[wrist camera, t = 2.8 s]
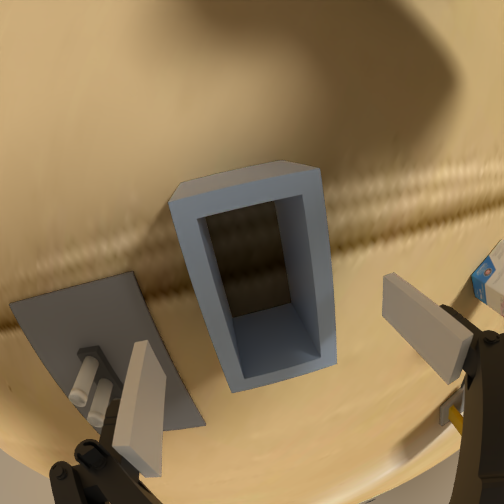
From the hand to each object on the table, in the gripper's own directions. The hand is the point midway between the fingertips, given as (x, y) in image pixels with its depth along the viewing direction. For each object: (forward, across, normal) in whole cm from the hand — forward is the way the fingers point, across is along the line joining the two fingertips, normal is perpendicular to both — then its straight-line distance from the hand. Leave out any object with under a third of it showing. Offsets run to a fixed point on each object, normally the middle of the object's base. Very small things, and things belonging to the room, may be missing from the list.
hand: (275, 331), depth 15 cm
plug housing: (+10, 0, 0) cm, 11 cm away
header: (+11, -18, -10) cm, 23 cm away
